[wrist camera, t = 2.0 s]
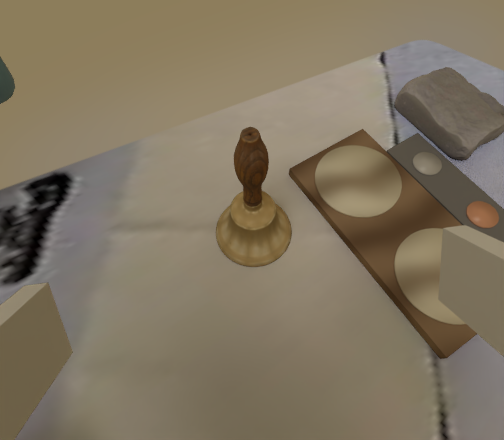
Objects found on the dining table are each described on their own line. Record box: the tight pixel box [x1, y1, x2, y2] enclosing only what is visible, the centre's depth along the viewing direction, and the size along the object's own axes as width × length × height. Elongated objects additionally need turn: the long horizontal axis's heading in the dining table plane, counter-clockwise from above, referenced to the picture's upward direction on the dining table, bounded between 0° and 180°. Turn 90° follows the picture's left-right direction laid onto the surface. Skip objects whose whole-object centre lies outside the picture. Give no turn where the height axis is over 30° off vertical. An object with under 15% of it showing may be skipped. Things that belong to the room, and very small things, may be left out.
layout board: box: [289, 129, 477, 359], centre depth 35 cm, size 24×11×2 cm, turn 32°
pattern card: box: [387, 133, 504, 242], centre depth 37 cm, size 16×5×1 cm, turn 32°
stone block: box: [394, 67, 504, 160], centre depth 41 cm, size 12×5×10 cm
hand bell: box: [216, 127, 291, 267], centre depth 29 cm, size 8×8×16 cm
